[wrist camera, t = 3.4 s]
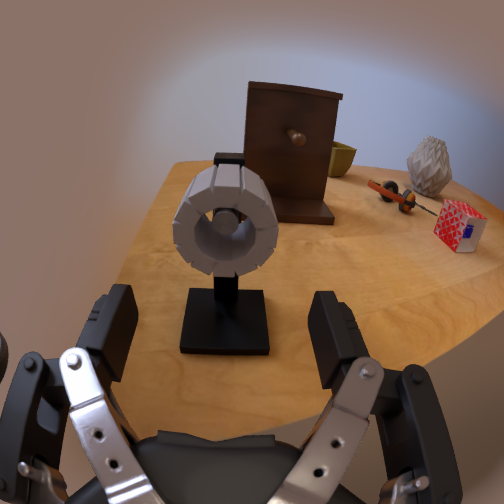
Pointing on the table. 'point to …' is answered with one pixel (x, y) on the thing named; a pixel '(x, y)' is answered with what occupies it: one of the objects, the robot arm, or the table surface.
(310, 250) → the table surface
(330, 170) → the flower pot
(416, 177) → the vase
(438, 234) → the red patterned cube
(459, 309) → the table surface
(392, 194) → the headphones
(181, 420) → the table surface
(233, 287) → the holder
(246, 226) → the grey faceted tube
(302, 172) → the rack
